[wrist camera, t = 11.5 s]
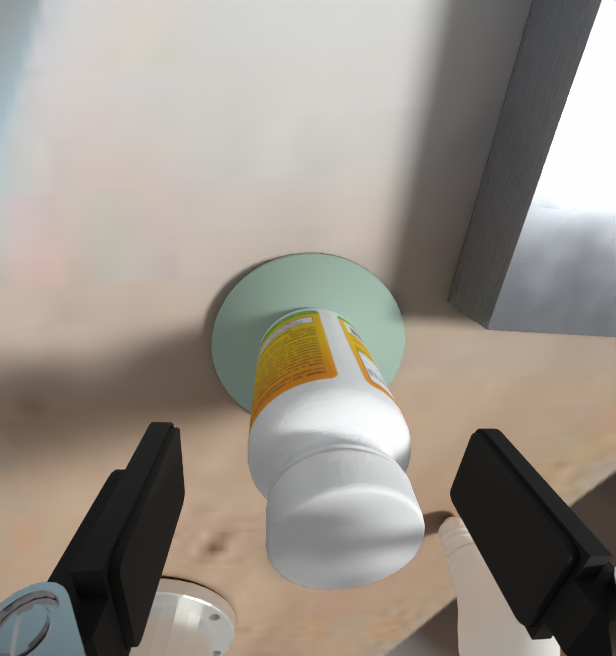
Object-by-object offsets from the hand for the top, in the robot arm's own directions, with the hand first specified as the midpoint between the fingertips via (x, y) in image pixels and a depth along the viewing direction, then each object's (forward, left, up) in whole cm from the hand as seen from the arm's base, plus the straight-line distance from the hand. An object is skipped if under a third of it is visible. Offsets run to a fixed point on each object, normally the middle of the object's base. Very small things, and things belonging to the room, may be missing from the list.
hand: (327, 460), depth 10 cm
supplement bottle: (0, 0, -7) cm, 7 cm away
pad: (0, 0, -8) cm, 8 cm away
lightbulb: (-14, -12, -8) cm, 20 cm away
